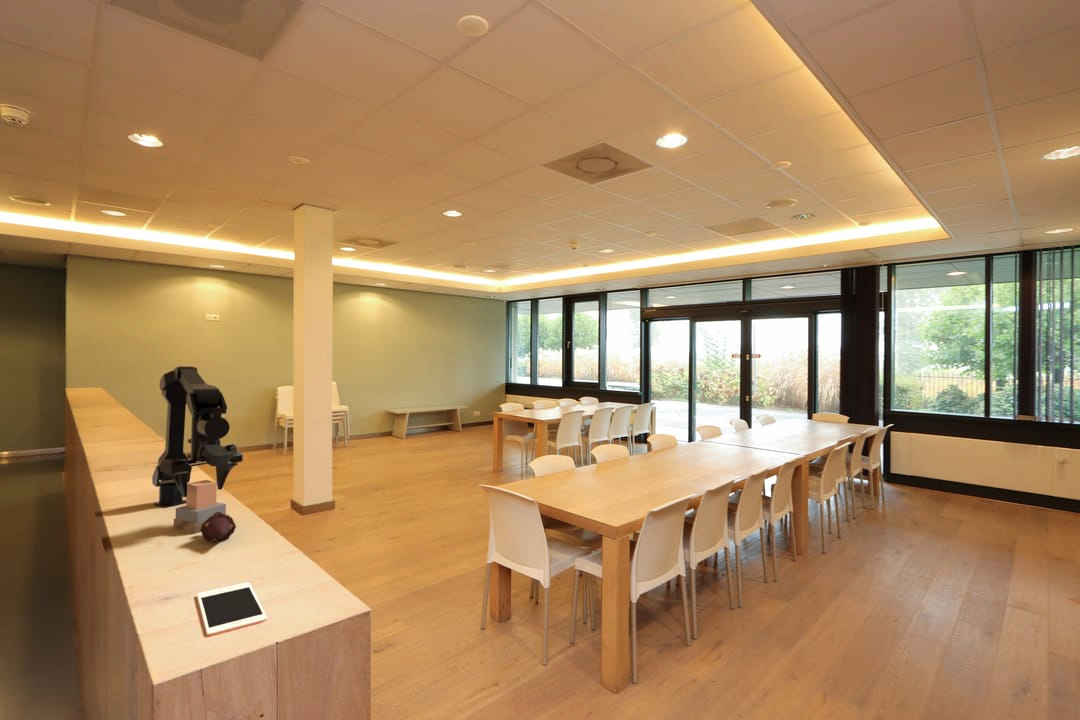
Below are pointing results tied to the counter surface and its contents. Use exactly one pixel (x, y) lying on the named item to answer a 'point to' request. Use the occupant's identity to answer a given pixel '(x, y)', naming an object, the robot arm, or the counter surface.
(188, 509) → the tower top
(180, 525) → the tower bottom
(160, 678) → the counter surface
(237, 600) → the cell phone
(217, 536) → the maroon plush toy
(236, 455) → the robot arm
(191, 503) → the block
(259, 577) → the counter surface
